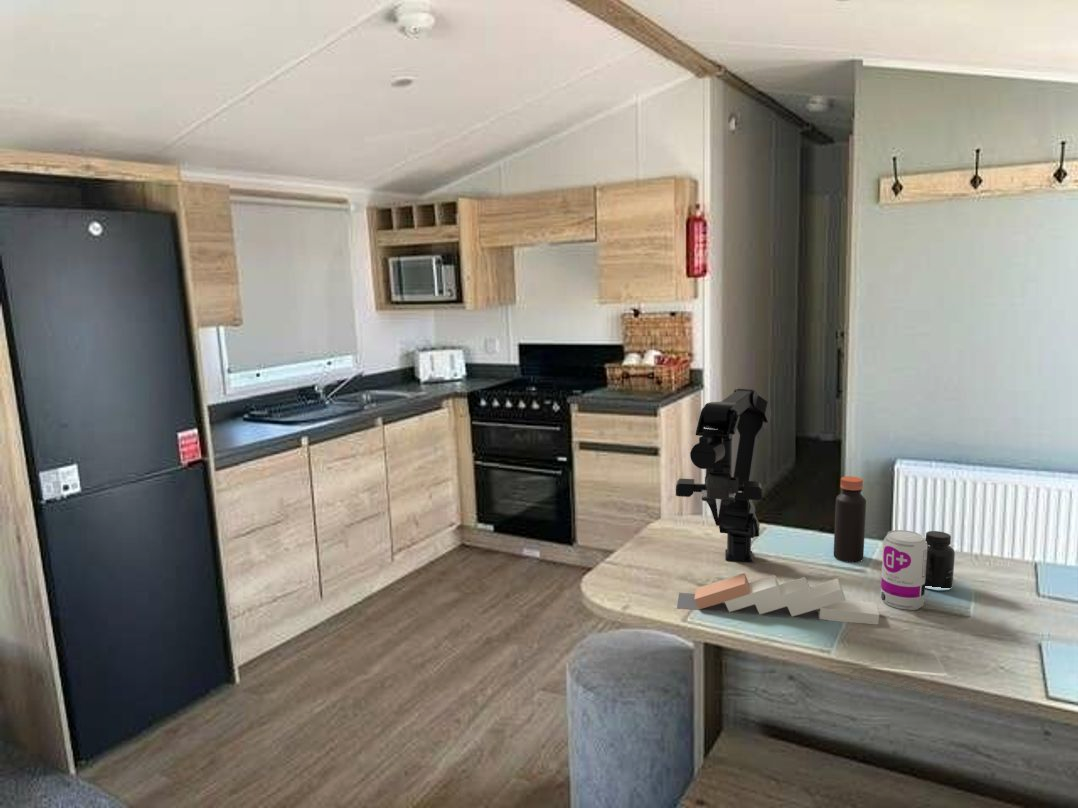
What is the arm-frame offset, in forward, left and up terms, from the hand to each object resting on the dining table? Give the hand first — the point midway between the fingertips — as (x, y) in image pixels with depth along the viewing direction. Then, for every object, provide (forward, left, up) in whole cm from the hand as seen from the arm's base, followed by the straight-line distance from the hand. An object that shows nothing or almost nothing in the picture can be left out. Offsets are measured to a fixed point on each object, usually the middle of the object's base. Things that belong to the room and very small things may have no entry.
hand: (717, 525), depth 170 cm
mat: (+14, +7, -13) cm, 20 cm away
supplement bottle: (-5, +47, -13) cm, 49 cm away
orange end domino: (+15, -4, -12) cm, 19 cm away
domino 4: (+15, +20, -11) cm, 28 cm away
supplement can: (+6, +38, -13) cm, 41 cm away
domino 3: (+15, +15, -11) cm, 24 cm away
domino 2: (+15, +8, -12) cm, 21 cm away
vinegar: (-19, +31, -13) cm, 39 cm away
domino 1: (+15, +2, -12) cm, 19 cm away
